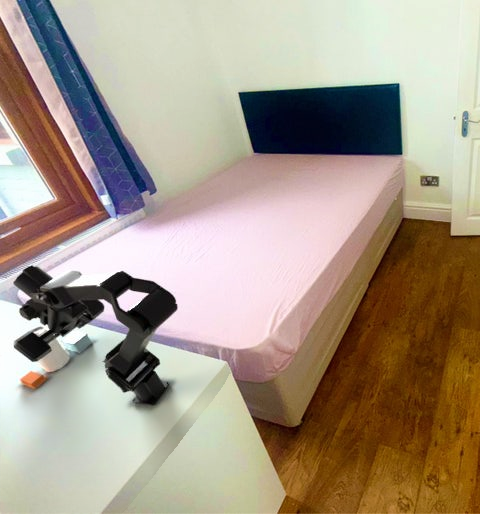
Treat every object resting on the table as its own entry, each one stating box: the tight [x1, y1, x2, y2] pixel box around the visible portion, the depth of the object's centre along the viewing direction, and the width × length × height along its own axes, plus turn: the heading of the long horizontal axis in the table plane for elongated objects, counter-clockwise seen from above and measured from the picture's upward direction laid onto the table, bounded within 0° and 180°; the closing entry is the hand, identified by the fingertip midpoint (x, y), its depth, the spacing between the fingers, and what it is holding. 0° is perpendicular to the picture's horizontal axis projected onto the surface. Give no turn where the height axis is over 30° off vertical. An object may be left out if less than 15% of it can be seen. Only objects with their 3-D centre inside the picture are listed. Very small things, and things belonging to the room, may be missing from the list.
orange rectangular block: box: [19, 370, 48, 390], centre depth 98 cm, size 6×3×2 cm, turn 67°
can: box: [30, 325, 71, 373], centre depth 101 cm, size 6×6×12 cm
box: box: [60, 330, 93, 354], centre depth 108 cm, size 6×4×4 cm
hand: (62, 339), depth 92 cm, fingers open, 9 cm apart
